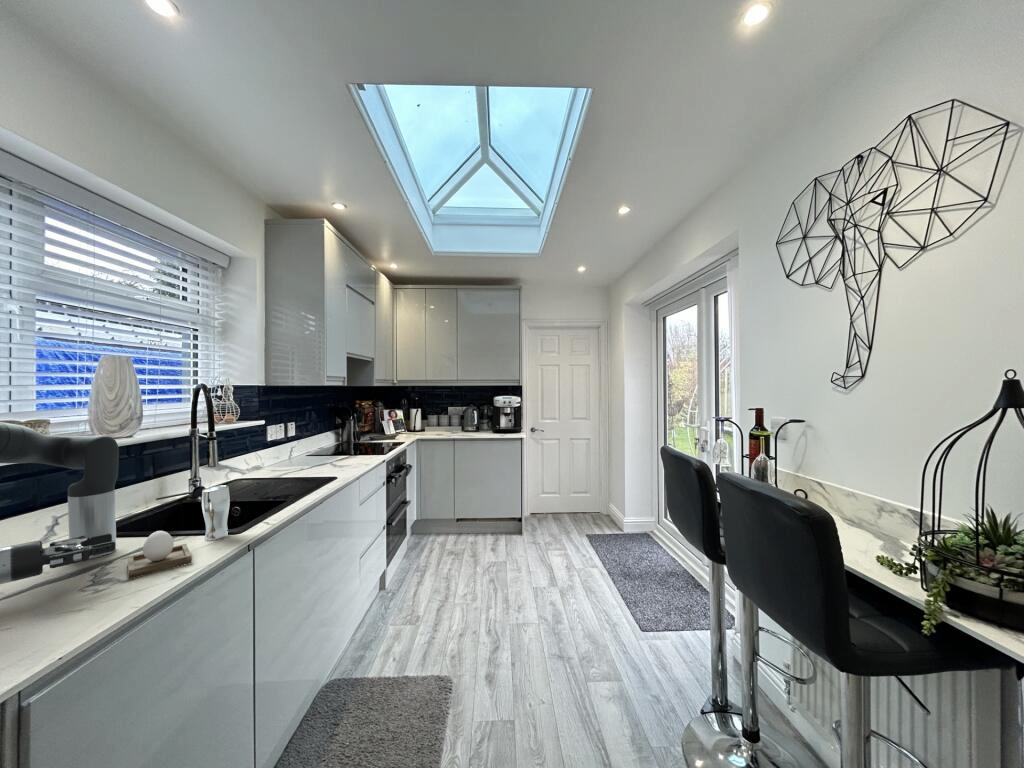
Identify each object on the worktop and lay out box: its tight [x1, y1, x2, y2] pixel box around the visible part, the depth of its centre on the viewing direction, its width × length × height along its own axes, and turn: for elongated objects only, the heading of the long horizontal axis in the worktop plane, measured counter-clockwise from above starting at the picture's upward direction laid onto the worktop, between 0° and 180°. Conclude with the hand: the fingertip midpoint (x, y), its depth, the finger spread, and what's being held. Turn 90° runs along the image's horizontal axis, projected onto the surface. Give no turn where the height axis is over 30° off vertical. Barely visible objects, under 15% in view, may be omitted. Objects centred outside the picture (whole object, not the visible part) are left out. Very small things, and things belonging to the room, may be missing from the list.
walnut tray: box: [127, 543, 192, 580], centre depth 107 cm, size 12×12×2 cm
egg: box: [142, 530, 175, 561], centre depth 107 cm, size 6×6×8 cm
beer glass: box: [201, 485, 231, 541], centre depth 126 cm, size 7×7×15 cm
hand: (113, 541), depth 101 cm, fingers open, 8 cm apart
